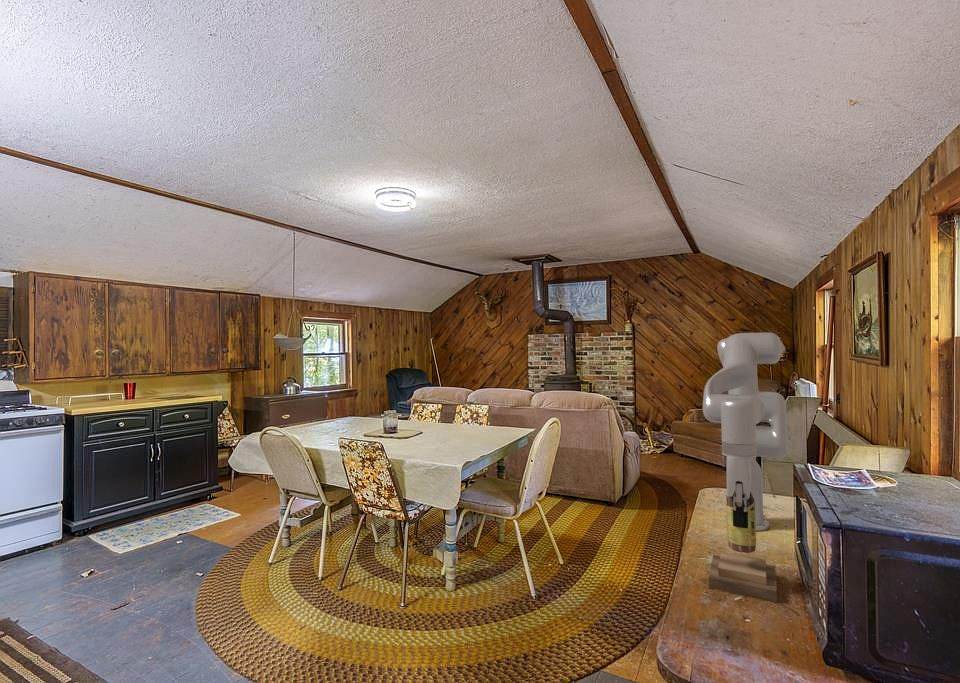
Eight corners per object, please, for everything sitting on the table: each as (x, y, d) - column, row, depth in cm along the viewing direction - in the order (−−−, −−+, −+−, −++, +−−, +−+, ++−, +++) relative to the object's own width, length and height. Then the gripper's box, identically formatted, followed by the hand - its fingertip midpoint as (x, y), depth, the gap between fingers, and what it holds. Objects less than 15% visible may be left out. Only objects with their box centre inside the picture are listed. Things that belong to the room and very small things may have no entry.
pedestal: (713, 564, 128) (713, 547, 128) (775, 575, 121) (774, 557, 121) (708, 588, 116) (708, 569, 116) (777, 602, 109) (776, 582, 109)
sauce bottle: (758, 555, 114) (756, 471, 114) (729, 552, 116) (727, 470, 117) (753, 544, 120) (751, 465, 121) (725, 541, 123) (723, 463, 123)
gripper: (724, 441, 128) (726, 509, 128) (719, 455, 113) (721, 532, 113) (756, 443, 124) (758, 513, 124) (756, 458, 109) (758, 537, 109)
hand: (741, 521), depth 119 cm, fingers closed on sauce bottle, 6 cm apart
